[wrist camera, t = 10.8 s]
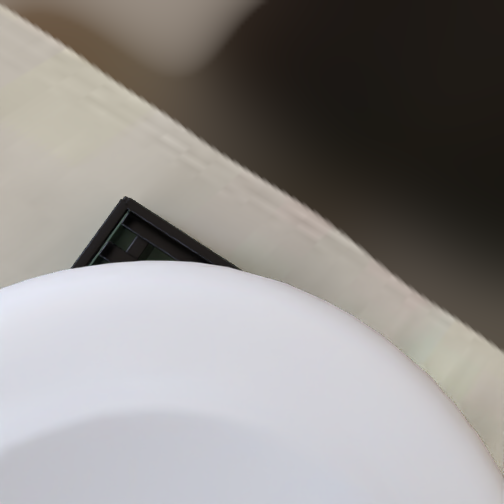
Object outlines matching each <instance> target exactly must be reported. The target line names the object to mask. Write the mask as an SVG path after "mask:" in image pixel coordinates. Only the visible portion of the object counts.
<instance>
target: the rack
mask: <svg viewBox="0 0 504 504" xmlns="http://www.w3.org/2000/svg"><path fill="white" fill-rule="evenodd" d="M126 213H127V215H126V216H125V214H126ZM124 216H125V218H124V219H123V217H124ZM122 219H123V220H122ZM121 220H122V222H121V225H122V226H123V227H124V228H125V229H127V230H129V231H130V232H132V233H133V234H135V235H136V237H135V239H134V240H133V241H132V243H131V244H130V246H129V247H128V249H127V250H126V251H124V250H123V249H121V248H120V247H118V246H117V245H115V244H114V243H112V242H110V241H107V239H108V238H109V237H110V235H111V234H112V233H113V231H114V230H115V228H116V227H117V226H118V224H119V223H120V221H121ZM106 241H107V243H106V244H105V242H106ZM104 244H105V245H104ZM103 245H104V247H103V248H102V246H103ZM101 248H102V250H101V251H100V249H101ZM154 248H156V249H158V250H159V251H161V252H163V253H164V254H166V255H167V256H169V257H170V258H172V259H173V260H175V261H183V262H197V263H204V264H211V265H218V266H224V267H230V268H233V269H237V270H240V269H239V268H237V267H236V266H234V265H232V264H231V263H229V262H228V261H226V260H225V259H223V258H222V257H220V256H219V255H217V254H216V253H214V252H212V251H211V250H209V249H208V248H206V247H205V246H203V245H202V244H200V243H199V242H197V241H196V240H194V239H192V238H191V237H189V236H188V235H186V234H185V233H183V232H182V231H180V230H179V229H177V228H176V227H174V226H172V225H171V224H169V223H168V222H166V221H165V220H163V219H162V218H160V217H159V216H157V215H156V214H154V213H152V212H151V211H149V210H148V209H146V208H145V207H143V206H142V205H140V204H139V203H137V202H136V201H134V200H132V199H131V198H128V197H126V196H125V197H124V198H123V199H121V200H120V201H119V203H118V204H117V205H116V207H115V208H114V209H113V211H112V212H111V214H110V215H109V216H108V218H107V219H106V220H105V222H104V223H103V225H102V226H101V227H100V229H99V230H98V231H97V233H96V234H95V236H94V237H93V238H92V240H91V241H90V243H89V244H88V245H87V247H86V248H85V249H84V251H83V252H82V254H81V255H80V256H79V258H78V259H77V260H76V262H75V263H74V265H73V266H72V267H71V269H74V268H80V267H87V266H89V265H90V263H91V262H92V260H93V259H94V258H95V256H96V255H97V253H98V252H99V251H100V252H99V256H101V257H102V258H104V259H105V260H107V261H108V262H110V263H119V262H134V261H146V260H147V258H148V257H149V255H150V254H151V252H152V251H153V249H154ZM241 271H242V270H241Z"/></svg>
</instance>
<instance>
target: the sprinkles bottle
mask: <svg viewBox="0 0 504 504" xmlns="http://www.w3.org/2000/svg"><path fill="white" fill-rule="evenodd" d="M0 504H504V477H503V475H502V473H501V471H500V469H499V468H498V466H497V464H496V463H495V461H494V459H493V458H492V456H491V454H490V453H489V451H488V449H487V448H486V446H485V445H484V443H483V441H482V440H481V438H480V436H479V435H478V433H477V432H476V431H475V430H474V428H473V427H472V426H471V425H470V423H469V422H468V421H467V419H466V418H465V417H464V415H463V414H462V413H461V411H460V410H459V408H458V407H457V406H456V404H455V403H454V402H453V401H452V400H451V399H450V398H449V397H448V396H447V395H446V394H445V393H444V392H443V390H442V389H441V388H440V387H439V386H438V384H437V383H436V382H435V381H434V379H433V378H432V377H431V376H430V375H428V374H427V373H426V372H425V371H424V370H423V369H422V368H420V367H419V366H418V365H417V364H416V363H415V362H413V361H412V360H411V359H410V358H409V357H408V356H406V355H405V354H404V353H403V352H402V351H401V350H400V349H398V348H397V347H396V346H395V345H394V344H392V343H391V342H390V341H389V340H388V339H387V338H385V337H384V336H383V335H382V334H380V333H379V332H377V331H376V330H374V329H373V328H371V327H370V326H368V325H366V324H365V323H363V322H362V321H360V320H359V319H357V318H356V317H354V316H353V315H351V314H349V313H348V312H346V311H344V310H342V309H340V308H338V307H336V306H334V305H333V304H331V303H329V302H327V301H325V300H323V299H321V298H318V297H316V296H314V295H312V294H309V293H307V292H305V291H303V290H300V289H298V288H296V287H293V286H291V285H289V284H287V283H284V282H280V281H277V280H273V279H270V278H266V277H262V276H259V275H255V274H252V273H248V272H244V271H241V270H237V269H233V268H230V267H224V266H218V265H211V264H204V263H197V262H183V261H134V262H119V263H108V264H101V265H94V266H87V267H80V268H74V269H67V270H61V271H58V272H54V273H50V274H46V275H42V276H38V277H34V278H31V279H27V280H25V281H22V282H19V283H16V284H13V285H10V286H7V287H5V288H2V289H0Z"/></svg>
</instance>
